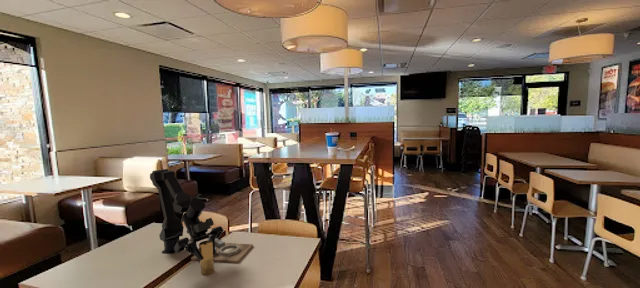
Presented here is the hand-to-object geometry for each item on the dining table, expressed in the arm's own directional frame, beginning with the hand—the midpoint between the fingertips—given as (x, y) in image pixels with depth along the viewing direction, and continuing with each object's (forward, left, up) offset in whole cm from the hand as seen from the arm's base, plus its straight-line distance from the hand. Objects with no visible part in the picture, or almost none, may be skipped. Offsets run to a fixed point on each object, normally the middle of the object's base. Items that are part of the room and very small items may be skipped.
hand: (208, 257), depth 111 cm
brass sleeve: (-1, +1, -7) cm, 7 cm away
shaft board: (-5, +16, -7) cm, 18 cm away
